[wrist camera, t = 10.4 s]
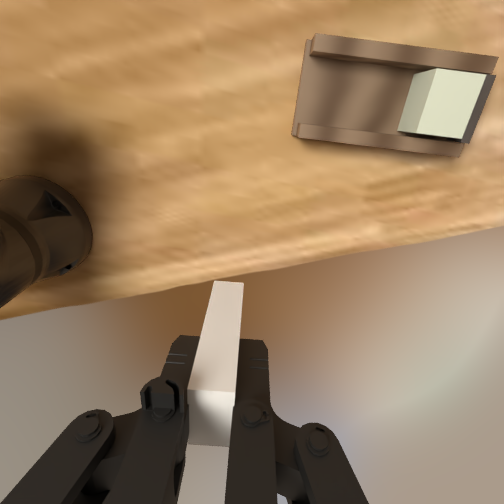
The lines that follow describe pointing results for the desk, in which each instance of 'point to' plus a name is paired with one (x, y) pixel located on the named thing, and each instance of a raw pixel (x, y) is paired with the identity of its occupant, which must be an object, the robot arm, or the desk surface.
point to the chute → (376, 92)
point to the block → (441, 102)
